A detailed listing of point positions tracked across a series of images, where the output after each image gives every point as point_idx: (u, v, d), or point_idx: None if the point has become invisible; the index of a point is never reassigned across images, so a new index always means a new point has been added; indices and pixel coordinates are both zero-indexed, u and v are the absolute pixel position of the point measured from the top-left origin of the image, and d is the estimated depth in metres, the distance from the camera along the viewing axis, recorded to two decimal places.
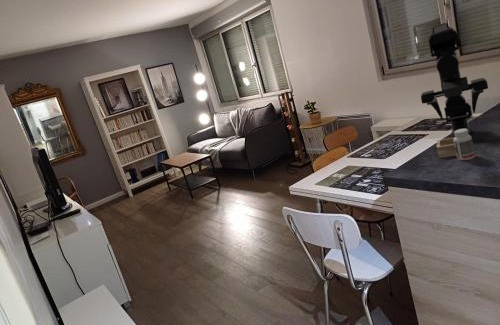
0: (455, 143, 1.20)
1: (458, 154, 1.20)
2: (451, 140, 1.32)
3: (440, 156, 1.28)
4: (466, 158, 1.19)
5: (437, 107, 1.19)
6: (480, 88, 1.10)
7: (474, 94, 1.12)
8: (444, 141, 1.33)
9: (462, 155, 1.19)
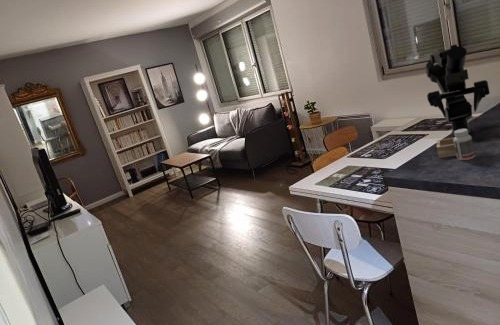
0: (455, 143, 1.20)
1: (458, 154, 1.20)
2: (451, 140, 1.32)
3: (440, 156, 1.28)
4: (466, 158, 1.19)
5: (441, 104, 1.28)
6: (480, 84, 1.21)
7: (475, 90, 1.22)
8: (444, 141, 1.33)
9: (462, 155, 1.19)
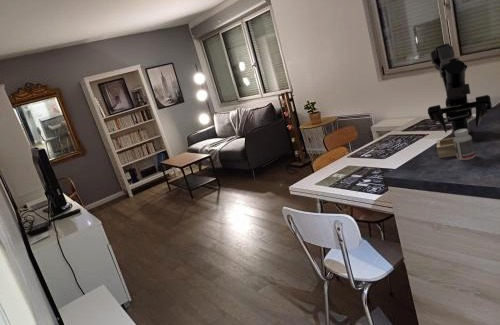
0: (455, 143, 1.20)
1: (458, 154, 1.20)
2: (451, 140, 1.32)
3: (440, 156, 1.28)
4: (466, 158, 1.19)
5: (442, 118, 1.24)
6: (482, 99, 1.17)
7: (477, 105, 1.18)
8: (444, 141, 1.33)
9: (462, 155, 1.19)
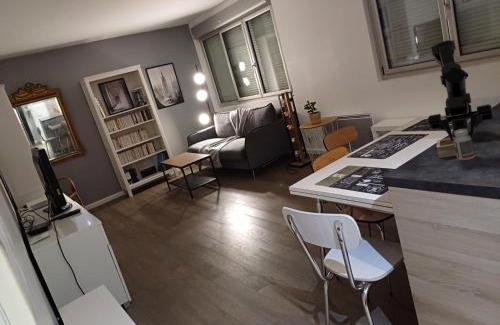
0: (455, 143, 1.20)
1: (458, 154, 1.20)
2: None
3: (440, 156, 1.28)
4: (466, 158, 1.19)
5: (448, 127, 1.21)
6: (483, 109, 1.15)
7: (471, 116, 1.17)
8: (444, 141, 1.33)
9: (462, 155, 1.19)
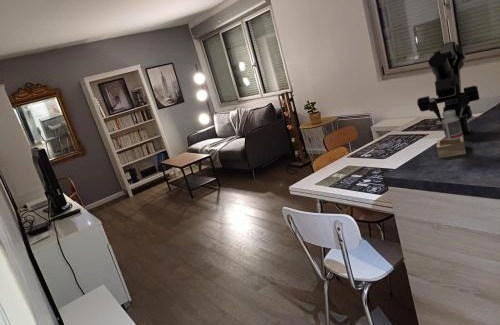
0: (443, 124, 1.24)
1: (447, 134, 1.25)
2: (451, 140, 1.32)
3: (440, 156, 1.28)
4: (454, 138, 1.23)
5: (436, 108, 1.26)
6: (470, 90, 1.20)
7: (459, 97, 1.22)
8: (444, 141, 1.33)
9: (450, 135, 1.24)
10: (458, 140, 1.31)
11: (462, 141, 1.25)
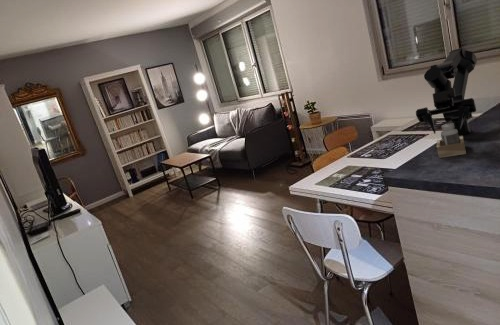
0: (442, 136, 1.28)
1: None
2: None
3: (440, 156, 1.28)
4: None
5: (431, 120, 1.30)
6: (467, 102, 1.23)
7: (459, 108, 1.25)
8: None
9: None
10: None
11: (462, 141, 1.25)
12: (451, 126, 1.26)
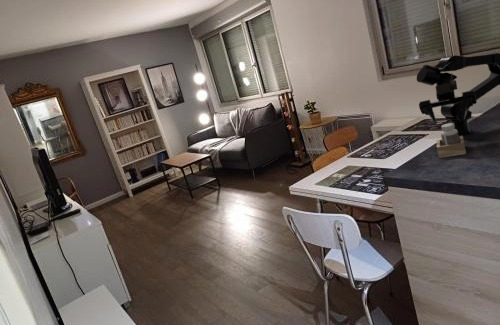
0: (442, 137, 1.28)
1: None
2: None
3: (440, 156, 1.28)
4: None
5: (432, 112, 1.36)
6: (468, 94, 1.29)
7: (463, 100, 1.30)
8: None
9: None
10: None
11: (462, 141, 1.25)
12: (451, 126, 1.26)
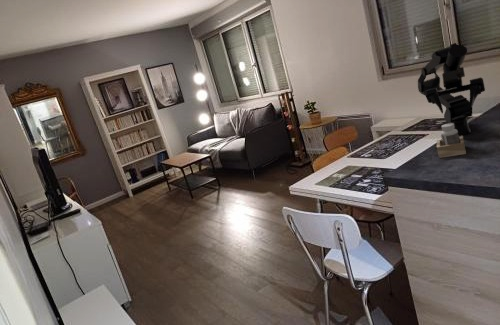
0: (442, 136, 1.28)
1: None
2: None
3: (440, 156, 1.28)
4: None
5: (438, 100, 1.33)
6: (476, 81, 1.26)
7: (471, 87, 1.27)
8: None
9: None
10: None
11: (462, 141, 1.25)
12: (451, 126, 1.26)
